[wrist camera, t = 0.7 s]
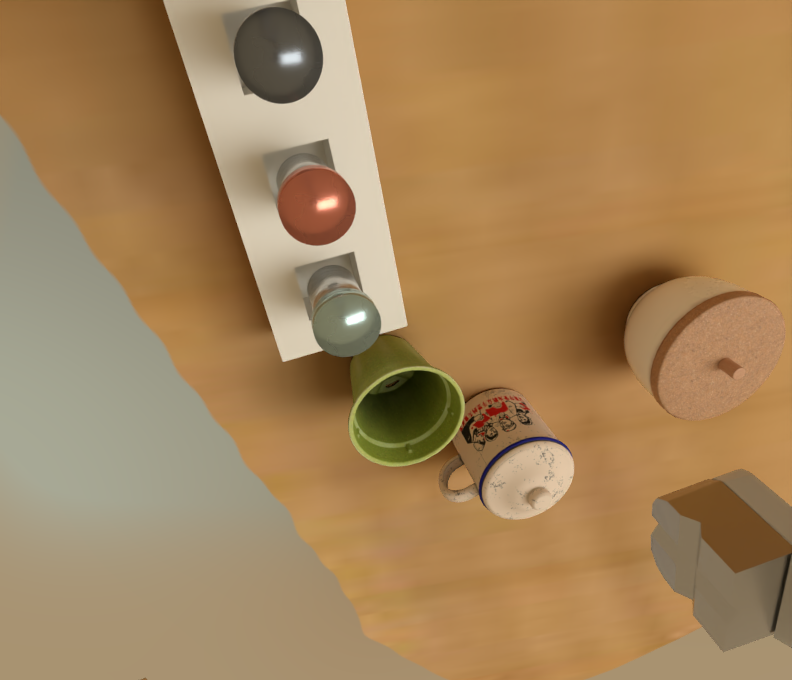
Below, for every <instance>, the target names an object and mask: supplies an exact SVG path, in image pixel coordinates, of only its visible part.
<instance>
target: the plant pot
mask: <svg viewBox="0 0 792 680" xmlns="http://www.w3.org/2000/svg"><path fill="white" fill-rule="evenodd" d="M350 376H351V385H352V394H353V406H352V408H351V411H350V414H349V419H348V430H349V435H350V438H351V441H352V443H353V445H354V446H355V448H356V450H357V451H358V452H359V453H360V454H361V455H362V456H364V457H365V458H367V459H368V460H370V461H372V462H374V463H377V464H380V465H385V466H407V465H412V464H415V463H419V462H422V461H424V460H426V459H428V458H430V457H432V456H433V455H435V454H437V453H438V452H439V451H441V450H442V449H443V448H444V447H445V446H446V445H447V444H448V443H449V442H450V441H451V440H452V439H453V438H454V436H455V435H456V433H457V432H458V430H459V428H460V426H461V424H462V421H463V416H464V411H465V402H464V397H463V394H462V391H461V389H460V387H459V386H458V384H457V383H456V382H455V380H454V379H453V378H452V377H451V376H449V375H448V374H447V373H445V372H443V371H442V370H439V369H437V368H434V367H432V366H430V365H429V364H428V363H427V362H426V361H425V359H424V358H423V357H422V356H421V355H420V354H419V353H418V352H417V351H416V350H415V349H414V348H413V347H412V346H411V345H410V344H409V343H408V342H407V341H406V340H404V339H402V338H398V337H395V336H391V335H381V336H378V338H377V339H376V341H375V342H374V344H373V345H372V346H371V347H370V348H368V349H367V350H366V351H364V352H362V353H360V354H358V355H355V356H353V358H352V361H351V364H350ZM397 380H399V381H398V382H397V383H396V384H395V385H393V386H391V387H386V385H387V384H390V383H393V382H395V381H397Z"/></svg>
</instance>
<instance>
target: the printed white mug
mask: <svg viewBox="0 0 792 680" xmlns="http://www.w3.org/2000/svg"><path fill="white" fill-rule="evenodd" d="M452 440H453V443H454V446H455V447H456V449H457V451H458V453H459V454H458V455H456V456H455V457H453V458H451V459H450V460H449V461H447V462H446V463H445V465H444V466H443V467H442V469H441V471H440V474H439V487H440V490H441V492H442V494H443V496H444V497H445V498H446V499H448V500H449V501H452V502H464V501H467V500H469V499H472V498H474V497H475V496H477V495H479V496H480V499H481V501H482V503H483V505H484V506H485V507H486V508H487V509H488V510H489V511H490V512H492V513H493V514H495V515H497V516H499V517H502V518H505V519H524V518H529V517H532V516H535V515H538V514H540V513H542V512H544V511H545V510H547V509H549V508H550V507H551V506H553V505H554V504H555V503H556V502H558V501H559V500H560V499H561V497H562V496H563V495H564V494H565V493H566V491H567V490H568V488H569V486H570V484H571V482H572V479H573V475H574V462H573V458H572V454H571V452H570V450H569V449H568V448H567V446H566V445H565V444H563V443H562V442H561V441H559V440H558V439H557V438H556V437H555V435H554V434H553V433H552V431H551V430H550V429H549V428H548V426H547V425H546V424H545V423H544V421H543V420H542V419H541V417H540V416H539V415H538V414H537V412H536V411H535V410H534V408H533V407H532V406H531V405H530V403H529V402H528V401H527V399H526V398H525V397H524V396H523V395H521V394H520V393H518V392H516V391H513V390H509V389H493V390H489V391H486V392H483V393H481V394H478V395H477V396H475V397H473V398H472V399H470V400H469V401H468V402H467V403H466V404H465V411H464V416H463V421H462V424H461V426H460V428H459V430H458V432H457V433H456V435H455V436H454V438H453V439H452ZM464 464H465V466H466V468H467V470H468V472H469V473H470V475H471V477H472V479H473V481H474V484H472V485H470V486H468V487H466V488H464V489H462V490H456V491H455V490H450V489H448V480H449V477H450V475H451V474H452V472H453V471H455V470H456V469H457V468H459V467H460V466H462V465H464Z"/></svg>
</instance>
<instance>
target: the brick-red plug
mask: <svg viewBox="0 0 792 680" xmlns="http://www.w3.org/2000/svg"><path fill="white" fill-rule="evenodd" d="M276 183H277V188H278V191H279V192H278V196H277V208H278V213H279V216H280V219H281V222H282V224H283V226H284V228H285V229H286V231H287V232H288V233H289V234H290V235H291V236H292V237H293V238H294V239H296V240H297V241H299V242H301V243H304V244H307V245H312V246H321V245H327V244H330V243H332V242H334V241H336V240H338V239H340V238H341V237H342V236H343V235H344V234H345V233H346V232H347V231H348V230H349V228H350V227H351V225H352V223H353V220H354V218H355V213H356V202H355V197H354V194H353V192H352V190H351V188H350V186H349V185H348V184H347V182H346V181H345V179H344V178H343V177H342V176H341V175H340V174H339V173H337V172H336V171H335V170H333V169H331V168H329V167H328V166H327V165H326V164H325V162H324V161H323V160H321V159H320V158H319V157H317V156H315V155H312V154H309V153H299V154H295V155H292V156H290V157H289V158H287V159H286V160H285V161H284V162H283V163H282V164H281V166H280V168H279V170H278V173H277V178H276Z"/></svg>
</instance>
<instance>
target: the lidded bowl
mask: <svg viewBox="0 0 792 680" xmlns="http://www.w3.org/2000/svg"><path fill="white" fill-rule="evenodd" d="M784 341H785V323H784V319H783V316H782V313H781V312H780V310H779V309H778V307H777V306H776V305H775V304H774V303H773V302H771V301H770V300H768V299H766V298H764V297H762V296H760V295H758V294H756V293H752V292H750V291H748V290H746V289H744V288H742V287H740V286H737V285H735V284H733V283H730V282H727V281H724V280H720V279H716V278H712V277H707V276H688V277H681V278H677V279H673V280H670V281H668V282H665V283H663V284H660V285H657V286H655V287H653V288H651V289H649V290H648V291H646V292H645V293H644V294H643V295H642V296H641V297H639V298H638V300H637V301H636V302H635V303H634V305H633V306H632V308H631V310H630V312H629V314H628V317H627V321H626V329H625V334H624V348H625V355H626V358H627V361H628V363H629V366H630V368H631V370H632V371H633V373H634V375H635V376H636V378H637V380H638V381H639V382H640V383H641V385H642V386H643V387H644V388H645V389H646V390H647V391H648V392H649V393H650V394H651V395H652V396H653V397H654V398H655V399H656V401H657V402H658V403H659V404H660V405H661V406H662V407H663V408H664V409H665V410H666V411H667V412H668V413H669V414H671V415H673V416H674V417H677V418H680V419H683V420H704V419H709V418H712V417H716V416H719V415H721V414H723V413H725V412H728V411H730V410H731V409H733V408H735V407H737V406H738V405H740V404H741V403H742V402H744V401H745V400H746V399H748V398H749V397H750V396H751V395H752V394H753V393H755V392H756V390H757V389H758V388H759V387H760V386H761V385H762V384H763V383H764V382H765V380H766V379H767V378H768V377H769V375H770V374H771V372H772V370H773V369H774V367H775V366H776V364H777V362H778V360H779V358H780V355H781V352H782V349H783V346H784Z"/></svg>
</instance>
